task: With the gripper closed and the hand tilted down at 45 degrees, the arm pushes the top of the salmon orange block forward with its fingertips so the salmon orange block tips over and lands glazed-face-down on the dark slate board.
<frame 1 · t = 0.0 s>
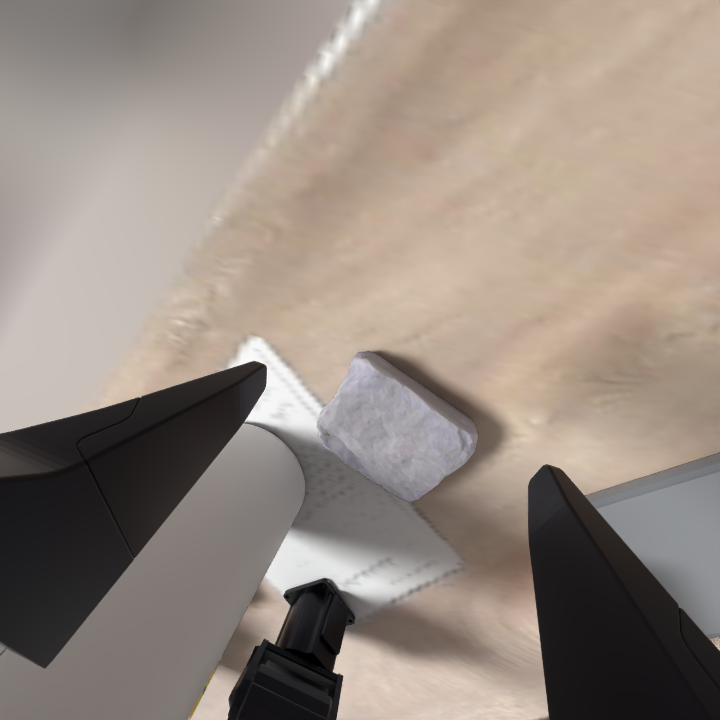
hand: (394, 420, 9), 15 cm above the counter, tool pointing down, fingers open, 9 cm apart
cylinder vase: (253, 471, 32), on the counter
slate board: (705, 549, 24), on the counter
stone block: (390, 421, 27), on the counter
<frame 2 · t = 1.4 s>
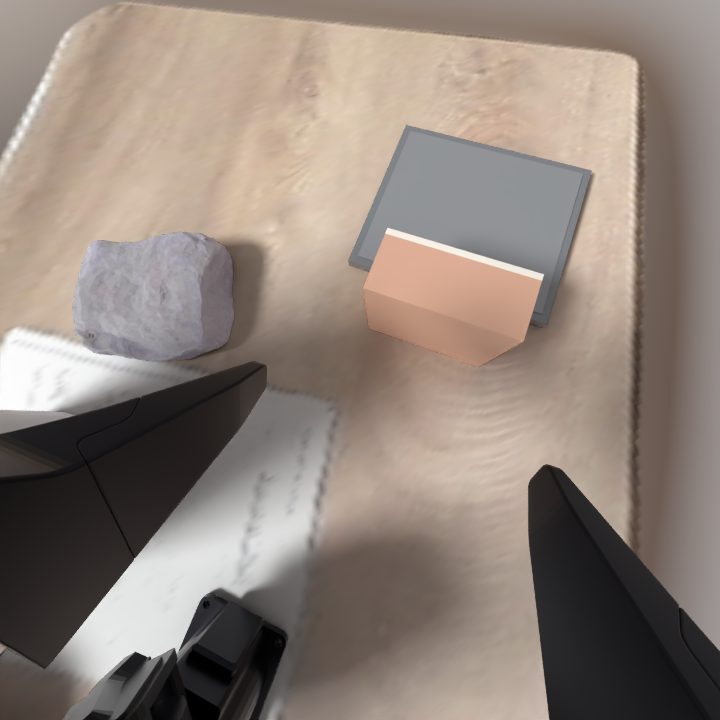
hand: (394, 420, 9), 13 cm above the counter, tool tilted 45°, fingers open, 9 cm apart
cylinder vase: (52, 493, 24), on the counter
slate board: (467, 221, 25), on the counter
stone block: (172, 311, 26), on the counter
salmon orange block: (430, 324, 24), on the counter
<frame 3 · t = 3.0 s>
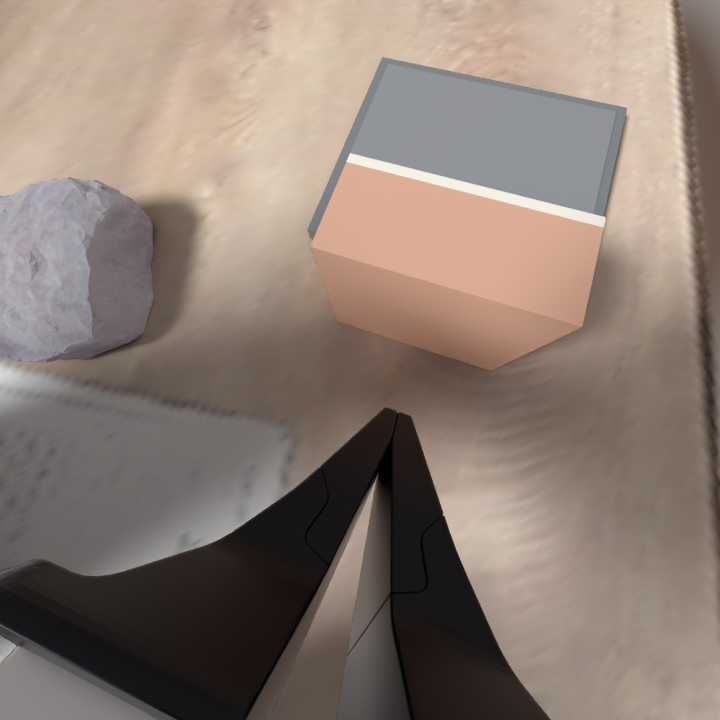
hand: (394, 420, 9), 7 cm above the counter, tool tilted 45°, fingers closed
slate board: (466, 178, 19), on the counter
stone block: (71, 295, 19), on the counter
salmon orange block: (421, 313, 17), on the counter
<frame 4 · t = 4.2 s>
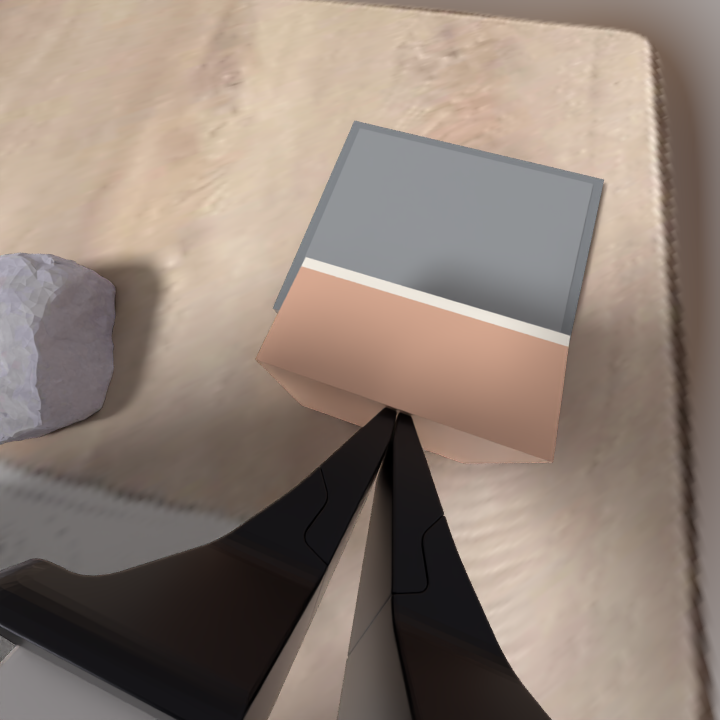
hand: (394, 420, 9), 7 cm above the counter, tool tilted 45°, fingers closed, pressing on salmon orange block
slate board: (439, 250, 18), on the counter
stone block: (29, 363, 19), on the counter
salmon orange block: (391, 398, 16), on the counter, tilted 7°, touching gripper
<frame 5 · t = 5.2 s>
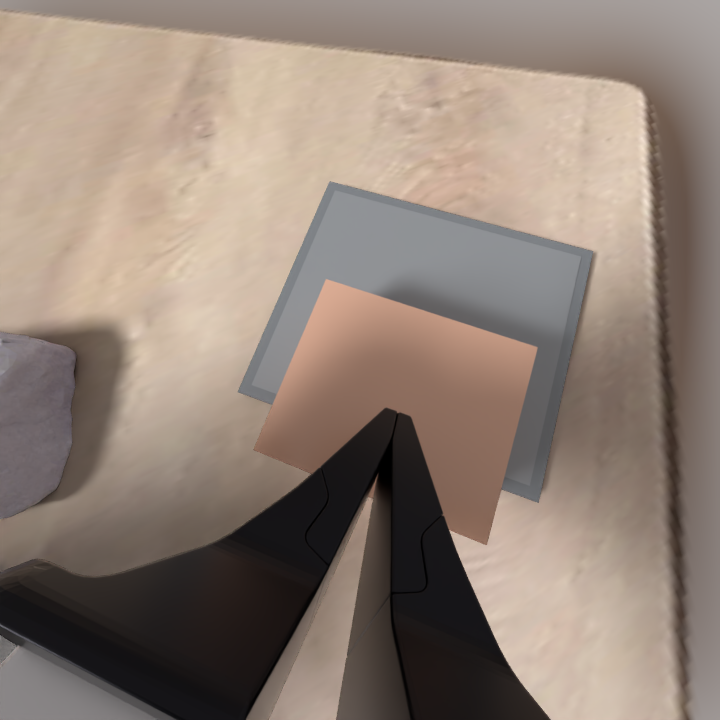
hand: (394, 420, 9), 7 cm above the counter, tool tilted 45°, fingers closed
slate board: (417, 324, 17), on the counter
salmon orange block: (365, 484, 13), point 3 cm above the counter, tilted 90°, touching slate board
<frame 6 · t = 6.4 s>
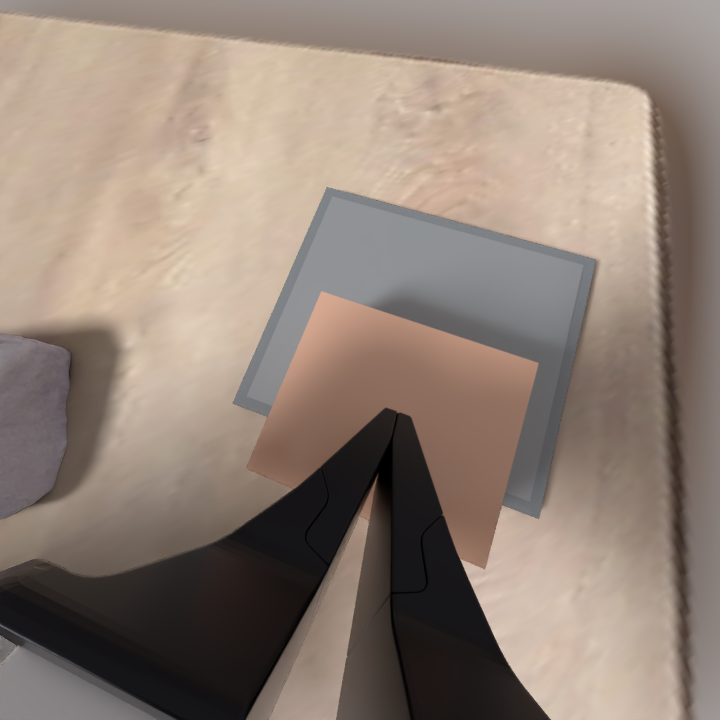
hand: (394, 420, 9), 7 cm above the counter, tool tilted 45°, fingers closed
slate board: (416, 334, 17), on the counter
salmon orange block: (361, 502, 13), point 3 cm above the counter, tilted 90°, touching slate board
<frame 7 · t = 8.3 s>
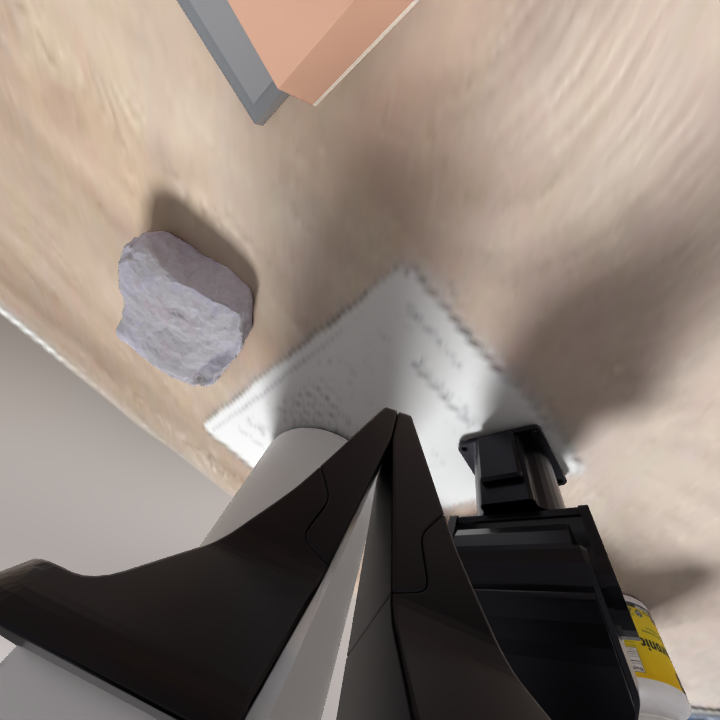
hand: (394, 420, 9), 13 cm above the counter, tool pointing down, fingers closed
supplement bottle: (613, 602, 32), on the counter
cylinder vase: (325, 465, 33), on the counter
stone block: (205, 313, 27), on the counter
salmon orange block: (379, 11, 12), point 3 cm above the counter, tilted 90°, touching slate board
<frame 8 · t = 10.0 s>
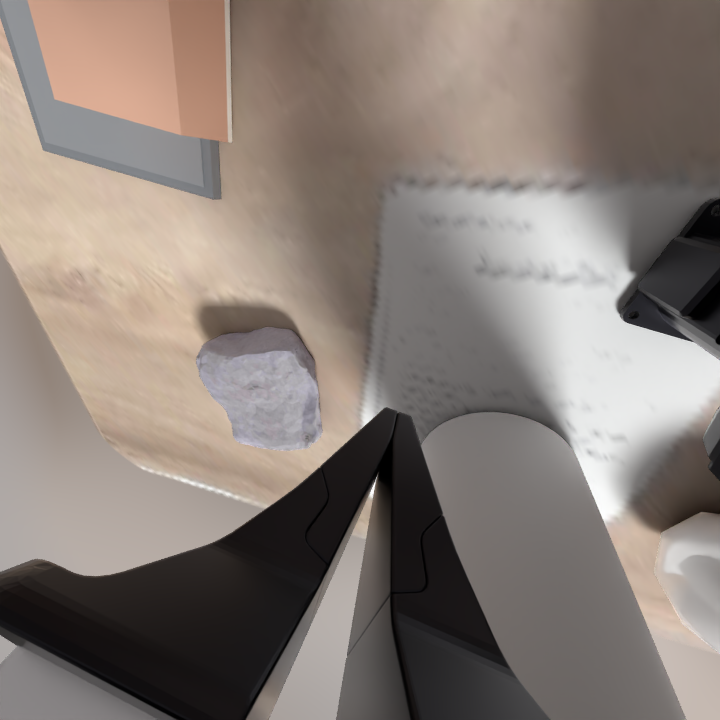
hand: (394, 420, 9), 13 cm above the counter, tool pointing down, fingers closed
cylinder vase: (490, 461, 26), on the counter
slate board: (104, 13, 17), on the counter
stone block: (282, 381, 29), on the counter
salmon orange block: (202, 20, 14), point 3 cm above the counter, tilted 90°, touching slate board
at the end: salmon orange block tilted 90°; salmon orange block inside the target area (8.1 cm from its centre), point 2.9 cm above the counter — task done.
